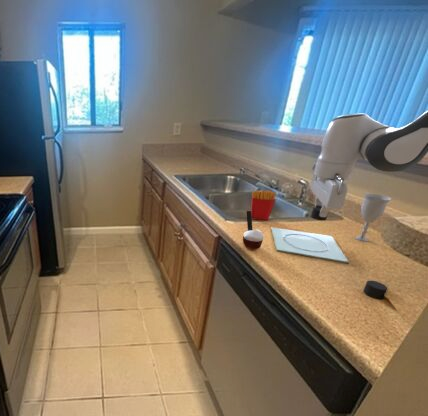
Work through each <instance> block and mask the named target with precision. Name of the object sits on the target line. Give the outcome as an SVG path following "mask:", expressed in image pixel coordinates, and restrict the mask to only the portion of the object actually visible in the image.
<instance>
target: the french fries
mask: <svg viewBox="0 0 428 416" xmlns="http://www.w3.org/2000/svg"><path fill="white" fill-rule="evenodd" d="M251 195H252V196H251V204H250V211H251V216H252V220H256V221H257V219H258V221H269V219H270V216H271V214H272V210H273V208H274V205H275V202H276V199H275V197H276V195H277V192H273V191H272V190H263V189H261V190H259V189H256V190H252V191H251Z"/></svg>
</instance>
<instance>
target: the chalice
mask: <svg viewBox="0 0 428 416" xmlns="http://www.w3.org/2000/svg"><path fill="white" fill-rule="evenodd" d="M363 198H364V199H363V202H362V204H361V207H360V211H361V213H360V214H361V217H362V220H363V221H364V222H365V224H364V225H362V227H363V229H362V230H361V231H360V232H361V235H357V236H355V237H354V239H355V240H357V241H360V242H369V239H368V238H367V237H366V234H368V229H369V228H370V223H374V222H375V221H377V220H378V219H379V218H380V217H381V216H382V215H383V214H384V213H385V211H386V208H387V205H388V203H389V202H390V201H391V200H392V198H391V197H389V196H386V195H382V194H377V193H364V194H363Z"/></svg>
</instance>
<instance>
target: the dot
mask: <svg viewBox="0 0 428 416" xmlns="http://www.w3.org/2000/svg"><path fill="white" fill-rule="evenodd" d="M387 291H388V286H387V285H386V284H384V283H382V282H379V281H376V280H367V281H366V283H365V285H364V288H363V293H364V294H365V295H366V296H368V297H370V298H373V299H377V300H383V299H384V298H385V295H386V293H387Z"/></svg>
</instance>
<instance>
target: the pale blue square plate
mask: <svg viewBox="0 0 428 416" xmlns="http://www.w3.org/2000/svg"><path fill="white" fill-rule="evenodd" d="M270 230H271V235H272V238H273V239H272V240H273V242H274V247H275V251H276V252H280V253H285V254H286V253H287V254H291V255H298V256H304V257H310V258H314V259H320V260H327V261H332V262H336V263H337V262H338V263H344V264H350V261H349V259H348V258H347V256H346V255H345V253H344V252H343V251H342V249H341V247H340V245H338V243H337V242H336V241H335V239H334V237H333V236H332V235H328V234H320V233H313V232H307V231H300V230H295V229H294V230H292V229H286V228H279V227H273V226H271V227H270Z"/></svg>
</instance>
